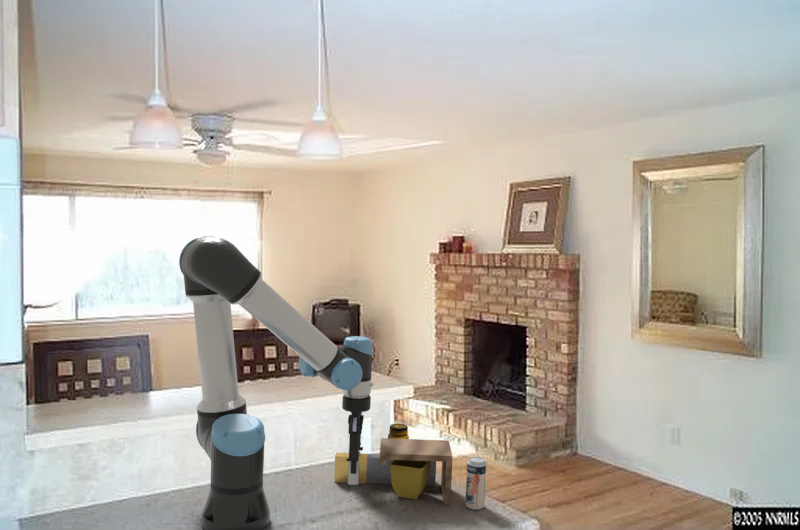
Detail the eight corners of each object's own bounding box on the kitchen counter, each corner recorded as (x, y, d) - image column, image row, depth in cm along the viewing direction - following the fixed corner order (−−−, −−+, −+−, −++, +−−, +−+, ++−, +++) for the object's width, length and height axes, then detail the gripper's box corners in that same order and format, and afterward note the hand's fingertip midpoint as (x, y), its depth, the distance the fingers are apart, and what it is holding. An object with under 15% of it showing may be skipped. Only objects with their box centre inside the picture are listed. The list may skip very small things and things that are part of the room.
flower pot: (421, 504, 166) (422, 469, 165) (388, 498, 168) (389, 463, 168) (430, 491, 174) (432, 457, 173) (398, 486, 177) (400, 453, 176)
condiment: (413, 468, 190) (415, 427, 190) (388, 473, 186) (390, 431, 185) (399, 460, 196) (401, 420, 196) (374, 465, 192) (376, 424, 191)
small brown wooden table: (378, 502, 166) (379, 453, 165) (379, 484, 178) (380, 438, 177) (450, 505, 166) (452, 455, 165) (446, 486, 178) (448, 440, 177)
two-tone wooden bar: (334, 482, 178) (335, 456, 178) (335, 477, 181) (336, 452, 181) (435, 485, 178) (436, 459, 178) (434, 481, 181) (435, 456, 181)
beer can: (461, 504, 166) (463, 457, 166) (477, 502, 168) (480, 455, 168) (471, 512, 162) (473, 463, 161) (488, 509, 164) (490, 461, 163)
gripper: (369, 404, 169) (366, 494, 170) (372, 386, 188) (369, 467, 189) (339, 403, 169) (336, 493, 170) (345, 385, 188) (342, 466, 189)
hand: (353, 479), depth 180 cm, fingers open, 6 cm apart
